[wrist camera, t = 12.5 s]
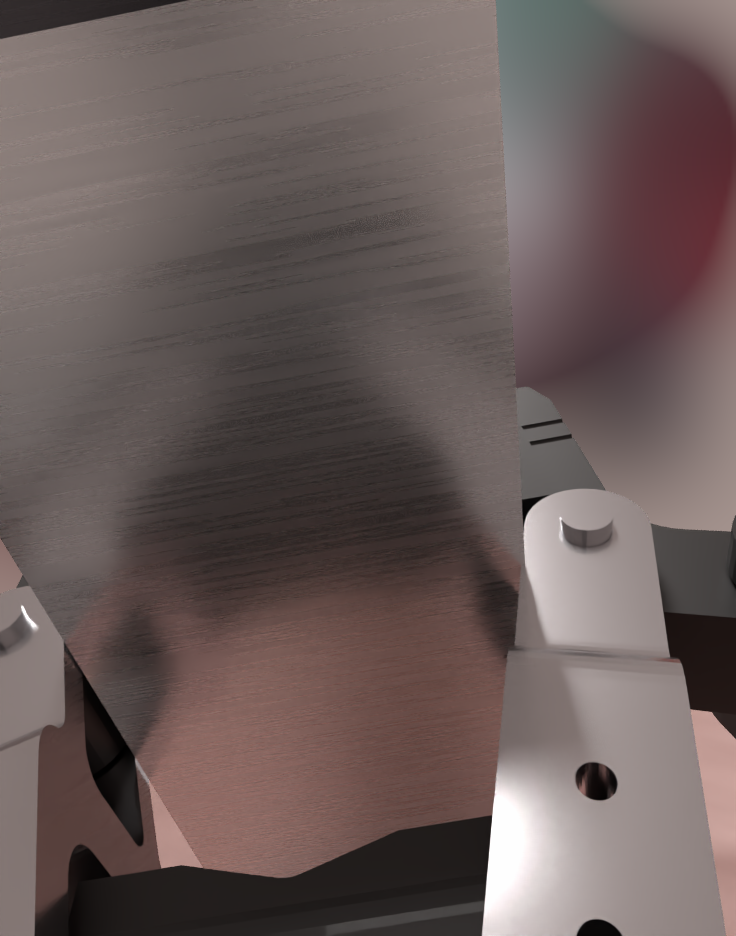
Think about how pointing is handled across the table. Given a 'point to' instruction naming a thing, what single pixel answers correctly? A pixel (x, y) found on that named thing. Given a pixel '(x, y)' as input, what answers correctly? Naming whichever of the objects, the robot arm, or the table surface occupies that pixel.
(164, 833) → the table surface
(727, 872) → the table surface
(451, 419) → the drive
